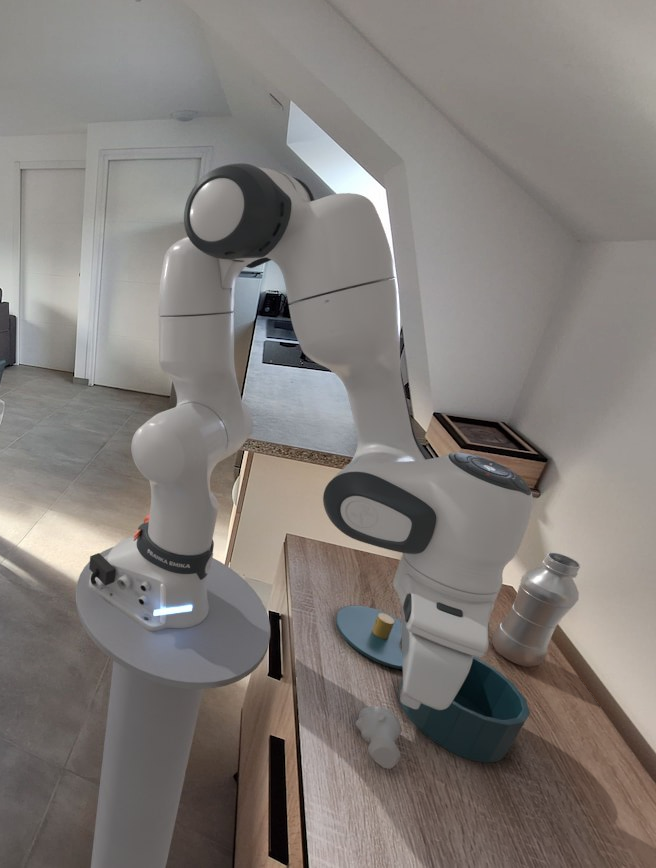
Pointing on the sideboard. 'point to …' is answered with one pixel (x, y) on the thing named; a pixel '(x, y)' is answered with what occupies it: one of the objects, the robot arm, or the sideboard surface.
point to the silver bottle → (537, 610)
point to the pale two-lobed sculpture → (380, 734)
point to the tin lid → (372, 633)
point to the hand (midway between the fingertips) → (407, 674)
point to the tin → (475, 716)
